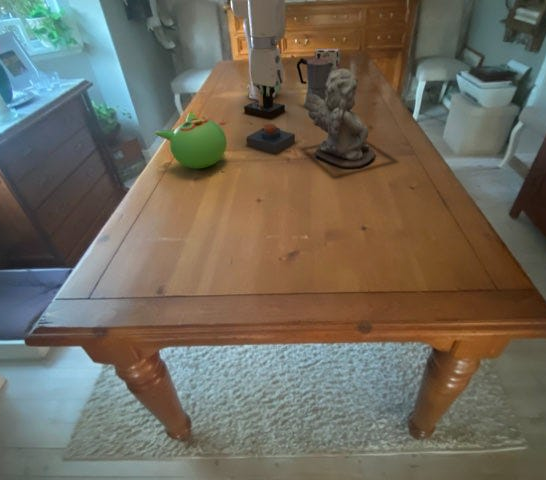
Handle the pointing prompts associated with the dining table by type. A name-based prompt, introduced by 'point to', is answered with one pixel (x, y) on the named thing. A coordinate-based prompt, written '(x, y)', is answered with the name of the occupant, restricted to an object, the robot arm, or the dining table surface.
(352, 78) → the angel statue
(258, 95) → the tan wooden block
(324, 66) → the moka pot
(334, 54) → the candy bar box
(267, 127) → the release button
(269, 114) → the panel
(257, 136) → the dark piece
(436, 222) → the dining table surface
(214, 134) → the toy bird
